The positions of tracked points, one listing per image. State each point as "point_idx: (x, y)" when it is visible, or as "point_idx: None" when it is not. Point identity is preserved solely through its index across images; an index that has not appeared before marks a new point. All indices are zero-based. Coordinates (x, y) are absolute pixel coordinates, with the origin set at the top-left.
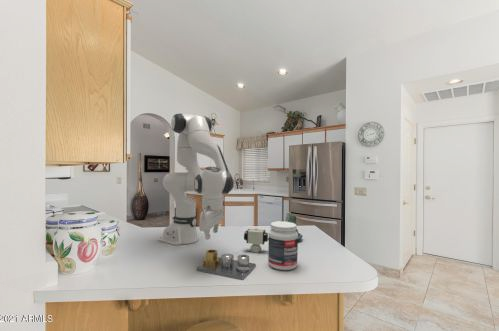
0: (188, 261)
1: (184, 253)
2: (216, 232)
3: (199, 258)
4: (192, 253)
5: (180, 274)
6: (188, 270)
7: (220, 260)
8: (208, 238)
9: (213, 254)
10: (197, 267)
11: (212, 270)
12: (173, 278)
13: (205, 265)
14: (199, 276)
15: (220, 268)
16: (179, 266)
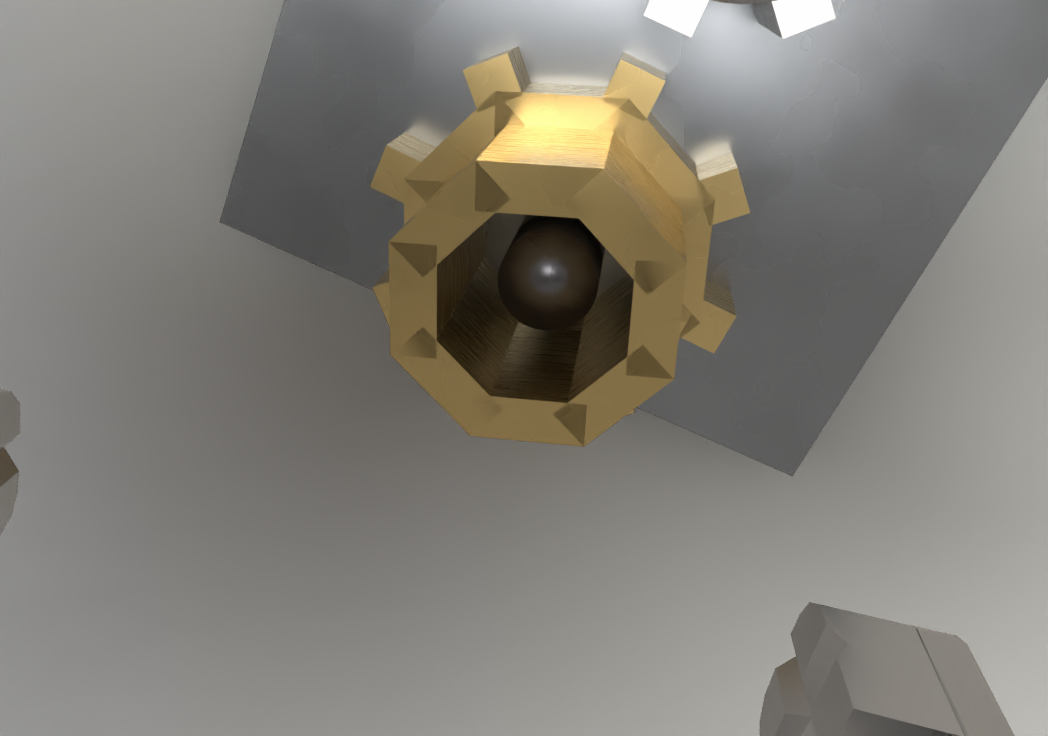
0: (397, 606)
1: (76, 693)
2: (8, 395)
3: (248, 458)
4: (48, 585)
5: None
6: (765, 569)
7: (427, 49)
8: (965, 674)
9: (682, 247)
10: (784, 464)
11: (963, 178)
12: (1038, 725)
13: None
14: (1040, 382)
15: (879, 11)
16: (600, 701)
